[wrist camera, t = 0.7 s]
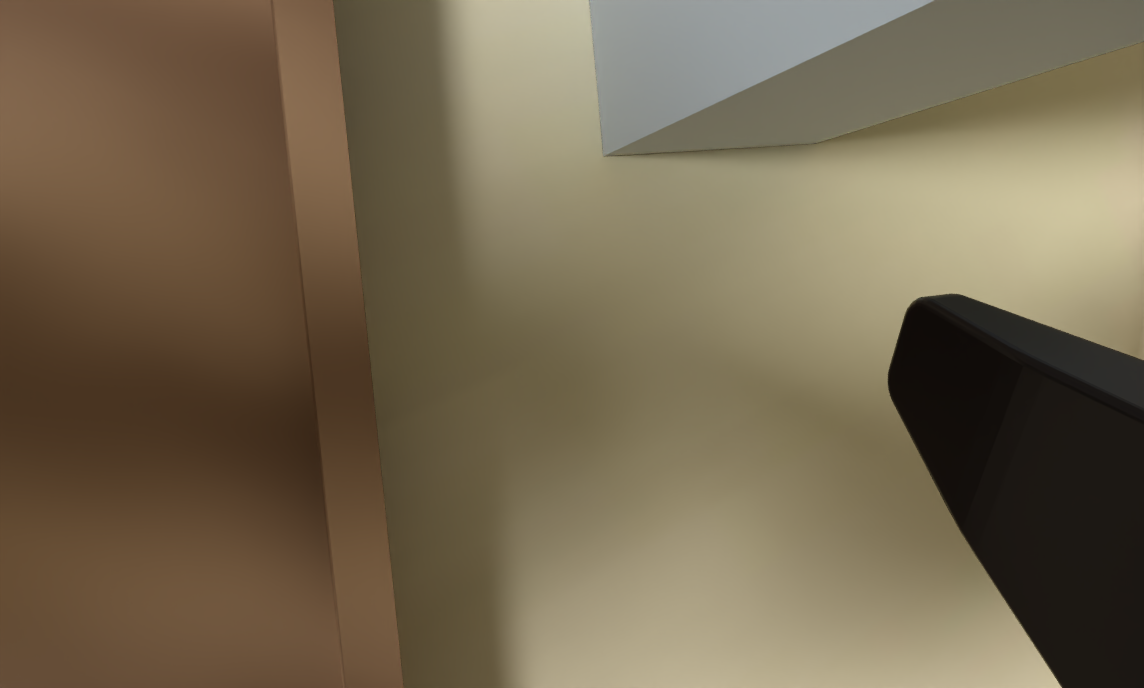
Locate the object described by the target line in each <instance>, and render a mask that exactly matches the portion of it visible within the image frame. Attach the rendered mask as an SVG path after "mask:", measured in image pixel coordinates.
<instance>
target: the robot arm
mask: <svg viewBox="0 0 1144 688" xmlns="http://www.w3.org/2000/svg"><path fill="white" fill-rule="evenodd" d="M888 389H889V393H890V396H891V399H892V401H893V403H894V405H895V407H896V409H897V411H898V413H899V415H900V417H901V419H902V421H903V423H904V425H905V427H906V429H907V430H908V432H909V434H910V436H911V438H912V440H913V442H914V444H915V446H916V448H917V450H918V452H919V454H920V456H921V458H922V459H923V461H924V463H925V465H926V467H927V469H928V471H929V473H930V475H931V477H932V479H933V481H934V483H935V485H936V487H937V488H938V490H939V492H940V494H941V496H942V498H943V500H944V502H945V504H946V506H947V508H948V510H949V511H950V513H951V515H952V517H953V519H954V521H955V522H956V524H957V526H958V528H959V530H960V531H961V533H962V535H963V536H964V538H965V540H966V541H967V543H968V544H969V546H970V548H971V549H972V551H973V553H974V554H975V556H976V557H977V559H978V560H979V562H980V563H981V565H982V566H983V568H984V569H985V571H986V572H987V574H988V576H989V577H990V579H991V580H992V582H993V583H994V585H995V586H996V588H997V589H998V591H999V592H1000V594H1001V595H1002V597H1003V598H1004V600H1005V602H1006V603H1007V605H1008V606H1009V608H1010V609H1011V611H1012V612H1013V614H1014V615H1015V617H1016V618H1017V620H1018V621H1019V623H1020V624H1021V626H1022V627H1023V629H1024V631H1025V632H1026V634H1027V635H1028V637H1029V638H1030V640H1031V641H1032V643H1033V644H1034V646H1035V647H1036V649H1037V650H1038V652H1039V653H1040V655H1041V657H1042V658H1043V660H1044V661H1045V663H1046V664H1047V666H1048V667H1049V669H1050V670H1051V672H1052V673H1053V675H1054V676H1055V678H1056V679H1057V681H1058V683H1059V684H1060V686H1061V687H1062V688H1144V360H1141V359H1138V358H1135V357H1133V356H1130V355H1127V354H1124V353H1121V352H1119V351H1116V350H1113V349H1110V348H1108V347H1105V346H1102V345H1099V344H1096V343H1094V342H1091V341H1088V340H1085V339H1083V338H1080V337H1077V336H1074V335H1071V334H1069V333H1066V332H1063V331H1060V330H1058V329H1055V328H1052V327H1049V326H1046V325H1044V324H1041V323H1038V322H1035V321H1033V320H1030V319H1027V318H1024V317H1021V316H1019V315H1016V314H1013V313H1010V312H1008V311H1005V310H1002V309H999V308H997V307H994V306H991V305H988V304H985V303H983V302H980V301H977V300H974V299H972V298H969V297H966V296H963V295H959V294H945V295H936V296H928V297H921V298H918V299H916V300H915V301H913V302H912V303H911V305H910V306H909V307H908V309H907V311H906V313H905V316H904V319H903V323H902V326H901V330H900V333H899V336H898V340H897V343H896V347H895V350H894V354H893V357H892V360H891V364H890V367H889V372H888Z"/></svg>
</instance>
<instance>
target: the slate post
mask: <svg viewBox="0 0 1144 688" xmlns="http://www.w3.org/2000/svg"><path fill="white" fill-rule="evenodd" d="M589 2H590V13H591V24H592V35H593V47H594V58H595V69H596V80H597V91H598V102H599V113H600V124H601V135H602V146H603V156H614V155H631V154H648V153H665V152H682V151H698V150H715V149H732V148H749V147H766V146H782V145H799V144H816V143H819V142H822V141H825V140H828V139H832V138H835V137H838V136H841V135H844V134H848V133H851V132H854V131H857V130H861V129H864V128H867V127H870V126H873V125H877V124H880V123H883V122H886V121H890V120H893V119H896V118H899V117H902V116H906V115H909V114H912V113H915V112H919V111H922V110H925V109H928V108H931V107H935V106H938V105H941V104H944V103H948V102H951V101H954V100H957V99H960V98H964V97H967V96H970V95H973V94H976V93H980V92H983V91H986V90H989V89H993V88H996V87H999V86H1002V85H1005V84H1009V83H1012V82H1015V81H1018V80H1022V79H1025V78H1028V77H1031V76H1034V75H1038V74H1041V73H1044V72H1047V71H1051V70H1054V69H1057V68H1060V67H1063V66H1067V65H1070V64H1073V63H1076V62H1080V61H1083V60H1086V59H1089V58H1092V57H1096V56H1099V55H1102V54H1105V53H1108V52H1112V51H1115V50H1118V49H1121V48H1125V47H1128V46H1131V45H1134V44H1137V43H1141V42H1144V0H589Z"/></svg>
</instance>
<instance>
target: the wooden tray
mask: <svg viewBox="0 0 1144 688" xmlns="http://www.w3.org/2000/svg"><path fill="white" fill-rule="evenodd" d="M0 688H404V687H403V677H402V667H401V657H400V648H399V638H398V628H397V619H396V609H395V599H394V589H393V580H392V570H391V560H390V551H389V541H388V531H387V521H386V512H385V502H384V492H383V483H382V473H381V463H380V453H379V444H378V434H377V424H376V415H375V405H374V395H373V385H372V376H371V366H370V356H369V347H368V337H367V327H366V317H365V308H364V298H363V288H362V279H361V269H360V259H359V249H358V240H357V230H356V220H355V211H354V201H353V191H352V181H351V172H350V162H349V152H348V143H347V133H346V123H345V113H344V104H343V94H342V84H341V75H340V65H339V55H338V45H337V36H336V26H335V16H334V7H333V0H0Z"/></svg>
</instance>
